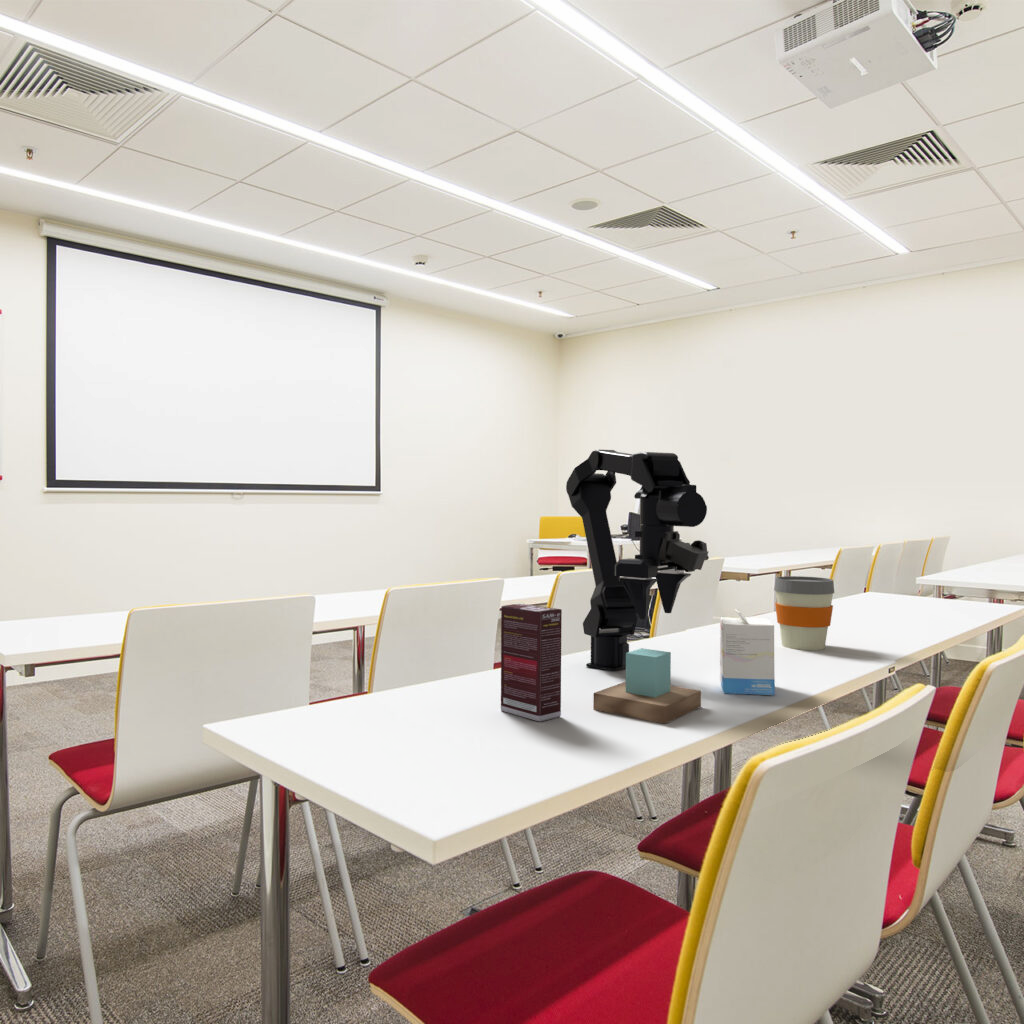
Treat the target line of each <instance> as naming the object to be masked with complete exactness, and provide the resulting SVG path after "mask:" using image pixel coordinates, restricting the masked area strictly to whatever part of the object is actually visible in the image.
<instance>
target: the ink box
mask: <svg viewBox="0 0 1024 1024" xmlns="http://www.w3.org/2000/svg"><path fill="white" fill-rule="evenodd" d="M734 611H735V612H736V613H737V614H738V615H739V617H724V616H721V617H720V622H719V623H720V630H719V631H720V633H719V634H720V637H719V640H720V641H719V643H720V644H719V684H720V686H721V689H722V692H723V694H734V695H736V694H737V695H758V696H759V695H760V696H761V695H763V696H775V694H776V693H775V690H776V689H775V688H776V687H775V683H776V681H775V680H776V679H775V675H776V674H775V625H774V623H773V622H772V621H771V619H769V618H766V617H765V618H763V617H762V618H761V617H746V616H745V615H743V614H742V613H741V612H740V611H739V610H738V609H737V607H736V608H735V607H734Z"/></svg>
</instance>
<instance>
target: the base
mask: <svg viewBox="0 0 1024 1024" xmlns="http://www.w3.org/2000/svg"><path fill="white" fill-rule="evenodd" d="M592 702H593V711H600V712H605V713H609V714H614V715H620V716H625V717H629V718H635V719H640V720H645V721H649V722H654V723H659V724H664V725H665V724H668V723H670V722H672V721H674V720H677V719H679V718H681V717H683V716H684V715H687V714H689V713H691V712H693V711H695V710H697V709H699V708H702V690H701V689H693V688H689V687H688V688H687V687H682V686H674V685H672V684H670V692H667V693H665V694H662V695H660V696H658V697H650V696H644V695H638V694H633V693H627V692H626V681H624V682H620V683H618V684H615V685H612V686H609V687H607V688H604V689H602V690H598V691H595V692H593V701H592Z"/></svg>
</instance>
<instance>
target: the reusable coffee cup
mask: <svg viewBox="0 0 1024 1024" xmlns="http://www.w3.org/2000/svg"><path fill="white" fill-rule="evenodd" d="M774 580H775V581H774V588H773V591H775V596H776V602H775V603H774V604H775V613H776V622H777V623H778V624H779V630H780V637H781V638H780V640H781V645H782V646H783V647H785V648H788V649H792V650H793V649H794V650H802V651H803V650H804V651H819V650H820V651H821V650H824V649H825V648H826V641H827V636H828V629H829V627H830V626H831V623H832V615H833V609H834V605H832V602H833V594H835V584H834V579H832V578H827V577H816V576H800V575H799V576H795V575H794V576H793V575H790V576H788V575H787V576H785V575H784V576H776V577H775V579H774Z"/></svg>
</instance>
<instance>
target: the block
mask: <svg viewBox="0 0 1024 1024" xmlns="http://www.w3.org/2000/svg"><path fill="white" fill-rule="evenodd" d="M671 656H672V653H671V651H664V650H663V651H662V650H658V649H657V650H656V649H650V648H639V649H635V650H631V651H629V652H628V653H626V667H625V682H626V692H627V693H633V694H638V695H644V696H650V697H658V696H660V695H662V694H665V693H667V692H670V685H671V673H672V672H671V671H672V670H671V669H672V668H671V667H672V664H671V663H672V662H671V660H672V659H671V658H672V657H671Z"/></svg>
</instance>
